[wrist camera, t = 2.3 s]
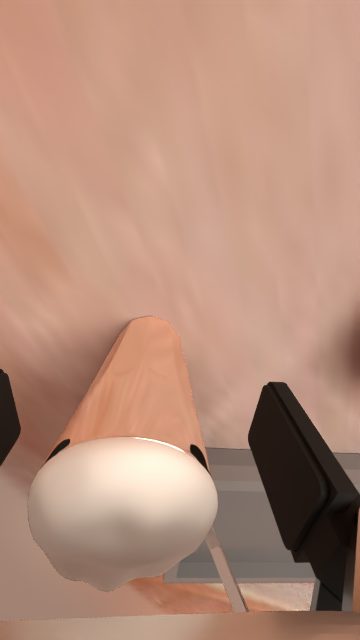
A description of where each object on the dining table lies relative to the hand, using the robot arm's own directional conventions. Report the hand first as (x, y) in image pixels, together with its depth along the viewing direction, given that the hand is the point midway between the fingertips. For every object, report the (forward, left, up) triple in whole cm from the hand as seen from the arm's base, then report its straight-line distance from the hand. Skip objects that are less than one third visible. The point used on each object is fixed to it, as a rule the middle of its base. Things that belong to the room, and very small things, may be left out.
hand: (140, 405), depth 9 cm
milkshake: (0, 0, -5) cm, 5 cm away
